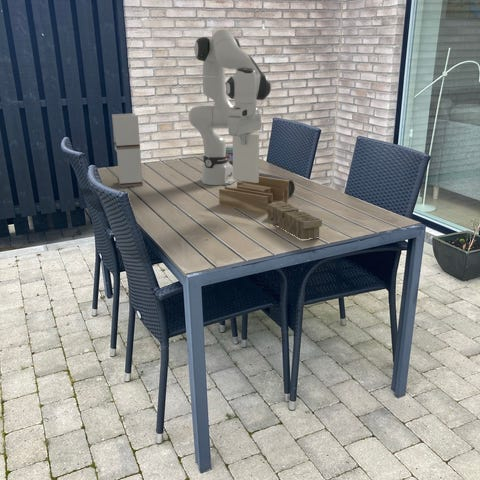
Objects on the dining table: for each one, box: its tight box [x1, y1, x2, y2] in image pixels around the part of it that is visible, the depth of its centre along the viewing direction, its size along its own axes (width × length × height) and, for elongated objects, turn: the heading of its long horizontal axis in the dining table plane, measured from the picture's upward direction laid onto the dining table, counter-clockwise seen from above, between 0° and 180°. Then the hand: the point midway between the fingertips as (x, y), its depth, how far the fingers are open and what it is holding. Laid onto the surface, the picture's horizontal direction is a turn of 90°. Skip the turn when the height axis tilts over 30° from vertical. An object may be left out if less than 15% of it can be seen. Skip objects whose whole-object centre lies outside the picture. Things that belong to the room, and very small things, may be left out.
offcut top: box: [236, 183, 271, 194], centre depth 229 cm, size 6×14×2 cm, turn 55°
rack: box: [218, 176, 290, 215], centre depth 229 cm, size 20×24×12 cm
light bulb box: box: [226, 144, 233, 166], centre depth 313 cm, size 11×7×11 cm, turn 80°
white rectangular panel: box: [232, 133, 260, 183], centre depth 218 cm, size 2×12×20 cm, turn 57°
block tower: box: [267, 201, 323, 239], centre depth 202 cm, size 8×8×29 cm
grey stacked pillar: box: [111, 113, 144, 188], centre depth 263 cm, size 11×11×35 cm
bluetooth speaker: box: [259, 172, 296, 198], centre depth 247 cm, size 23×9×10 cm, turn 47°
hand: (245, 144), depth 216 cm, fingers closed on white rectangular panel, 2 cm apart
